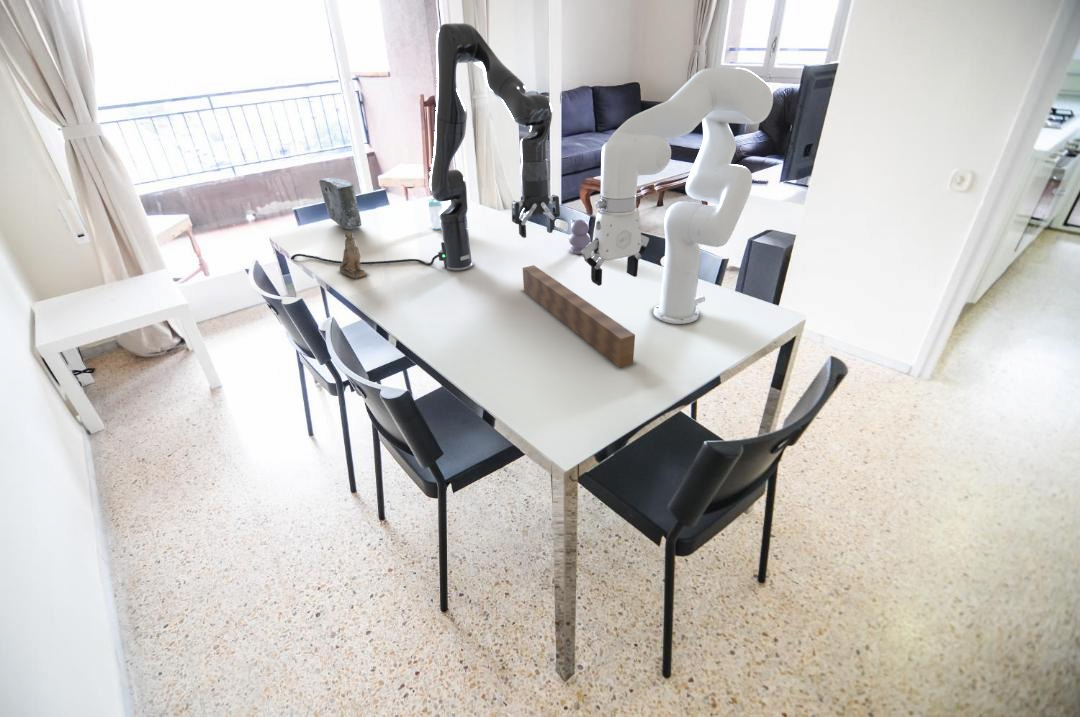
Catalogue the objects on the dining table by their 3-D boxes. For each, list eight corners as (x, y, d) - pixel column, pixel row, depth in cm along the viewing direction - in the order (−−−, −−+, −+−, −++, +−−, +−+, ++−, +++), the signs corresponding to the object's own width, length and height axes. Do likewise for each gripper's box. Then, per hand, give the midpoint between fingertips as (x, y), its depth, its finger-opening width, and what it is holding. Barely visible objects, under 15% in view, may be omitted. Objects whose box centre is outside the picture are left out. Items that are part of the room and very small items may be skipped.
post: (523, 291, 160) (522, 267, 156) (535, 288, 162) (534, 265, 157) (619, 368, 119) (621, 339, 115) (633, 363, 121) (635, 334, 117)
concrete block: (366, 231, 222) (356, 185, 212) (347, 235, 218) (335, 188, 207) (347, 218, 241) (337, 175, 230) (329, 222, 236) (318, 178, 226)
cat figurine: (594, 250, 190) (595, 219, 184) (581, 256, 185) (582, 224, 179) (577, 246, 195) (577, 215, 189) (564, 251, 190) (564, 220, 184)
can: (445, 229, 220) (441, 202, 214) (429, 230, 220) (425, 202, 214) (447, 224, 226) (444, 198, 220) (432, 225, 226) (428, 198, 220)
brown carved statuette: (368, 281, 178) (362, 235, 166) (353, 285, 175) (347, 238, 163) (352, 266, 184) (346, 221, 172) (338, 270, 181) (331, 224, 169)
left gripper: (516, 182, 131) (520, 242, 139) (564, 176, 136) (564, 234, 145) (505, 177, 137) (509, 235, 145) (551, 171, 142) (552, 227, 151)
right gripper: (592, 214, 99) (591, 293, 108) (661, 201, 106) (654, 276, 115) (573, 206, 105) (573, 281, 114) (640, 194, 111) (635, 266, 120)
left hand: (536, 234), depth 145 cm, fingers open, 8 cm apart
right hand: (614, 279), depth 114 cm, fingers open, 9 cm apart
